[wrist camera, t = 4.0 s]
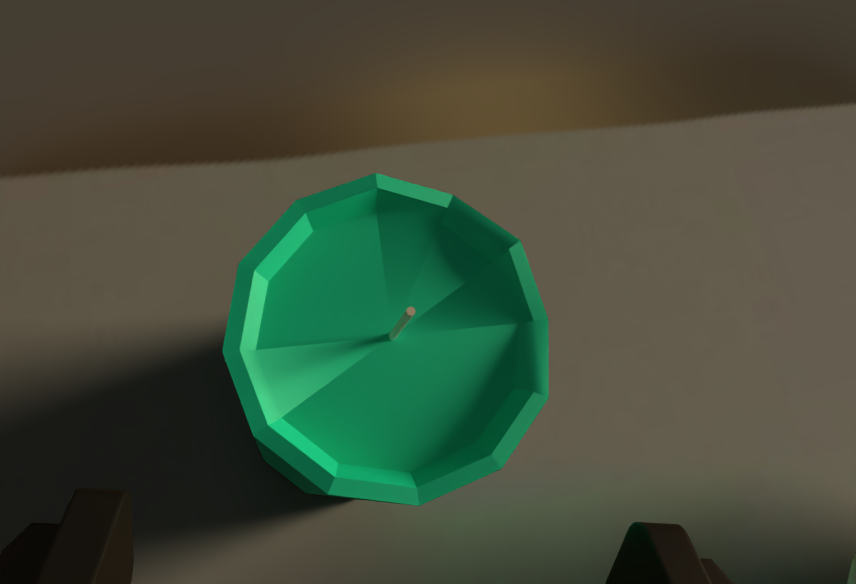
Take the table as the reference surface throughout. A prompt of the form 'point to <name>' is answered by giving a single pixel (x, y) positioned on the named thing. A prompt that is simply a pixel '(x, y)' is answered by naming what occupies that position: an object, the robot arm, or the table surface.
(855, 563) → the bowl
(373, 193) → the candle
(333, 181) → the table surface
